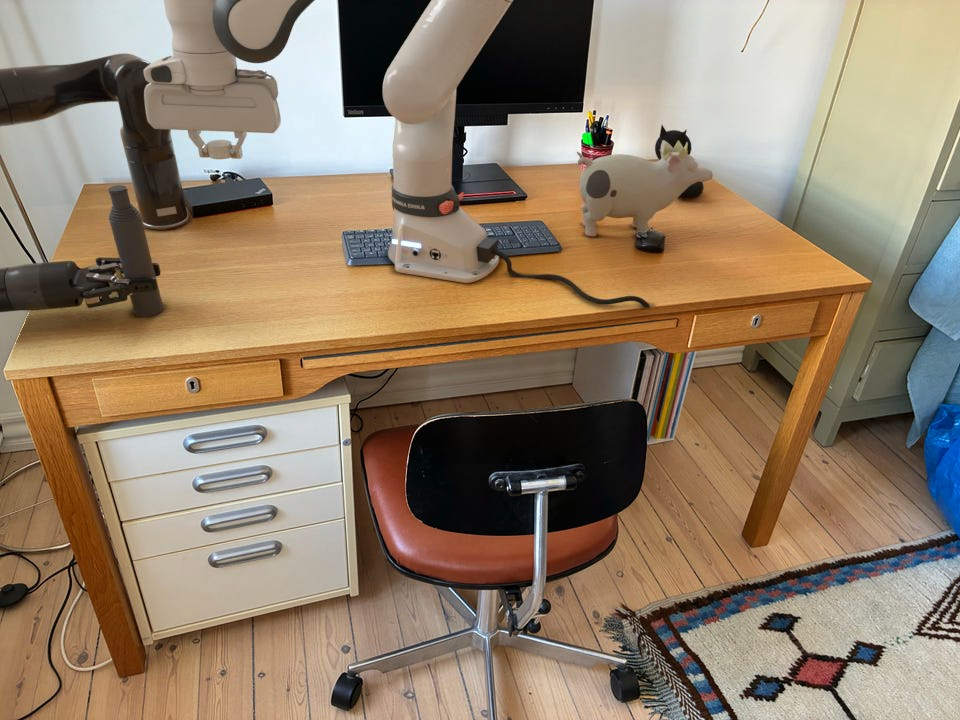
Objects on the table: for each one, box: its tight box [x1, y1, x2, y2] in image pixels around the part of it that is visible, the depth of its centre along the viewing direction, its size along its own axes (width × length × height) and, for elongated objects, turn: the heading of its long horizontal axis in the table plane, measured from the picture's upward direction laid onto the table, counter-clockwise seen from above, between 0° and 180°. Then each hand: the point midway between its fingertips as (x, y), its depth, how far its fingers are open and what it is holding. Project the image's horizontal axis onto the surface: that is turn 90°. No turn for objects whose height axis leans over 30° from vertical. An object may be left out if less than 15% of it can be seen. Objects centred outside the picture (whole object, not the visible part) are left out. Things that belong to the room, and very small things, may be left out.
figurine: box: [576, 140, 714, 239], centre depth 151 cm, size 10×29×20 cm, turn 89°
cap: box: [206, 139, 233, 160], centre depth 116 cm, size 4×4×2 cm
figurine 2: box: [654, 124, 705, 200], centre depth 175 cm, size 16×14×15 cm
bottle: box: [107, 184, 164, 318], centre depth 116 cm, size 5×5×22 cm
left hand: (157, 276), depth 120 cm, fingers closed on bottle, 4 cm apart
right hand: (221, 157), depth 117 cm, fingers closed on cap, 4 cm apart
